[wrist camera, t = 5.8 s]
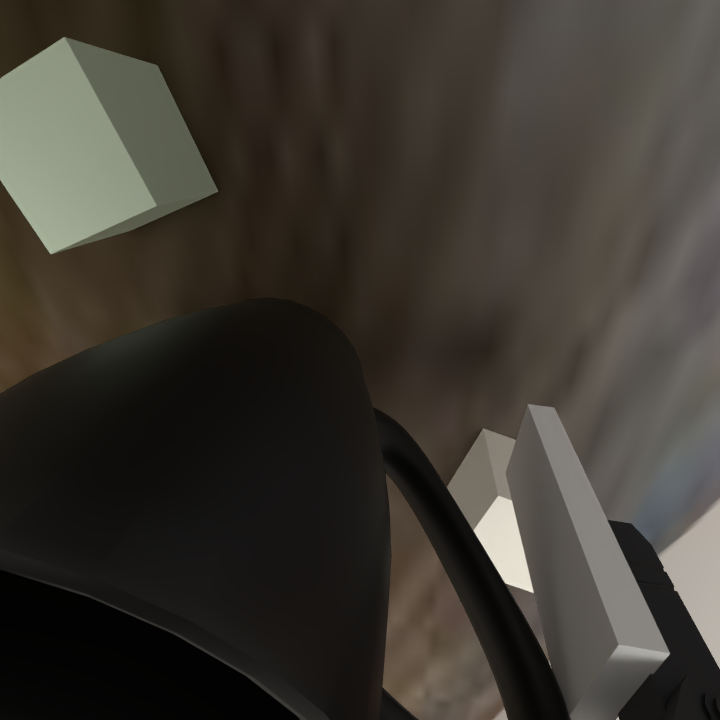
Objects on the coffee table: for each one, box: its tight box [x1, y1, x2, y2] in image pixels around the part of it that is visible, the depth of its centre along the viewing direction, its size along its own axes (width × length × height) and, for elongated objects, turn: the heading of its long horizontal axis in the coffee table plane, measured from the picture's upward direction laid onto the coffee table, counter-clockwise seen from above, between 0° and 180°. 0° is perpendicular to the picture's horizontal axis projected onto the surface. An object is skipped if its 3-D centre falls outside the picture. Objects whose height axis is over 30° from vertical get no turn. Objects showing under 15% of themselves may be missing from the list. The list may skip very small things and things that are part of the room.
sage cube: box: [0, 37, 218, 254], centre depth 16 cm, size 5×5×5 cm
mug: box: [0, 298, 571, 720], centre depth 10 cm, size 8×12×10 cm
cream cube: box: [447, 428, 534, 593], centre depth 22 cm, size 5×5×5 cm
